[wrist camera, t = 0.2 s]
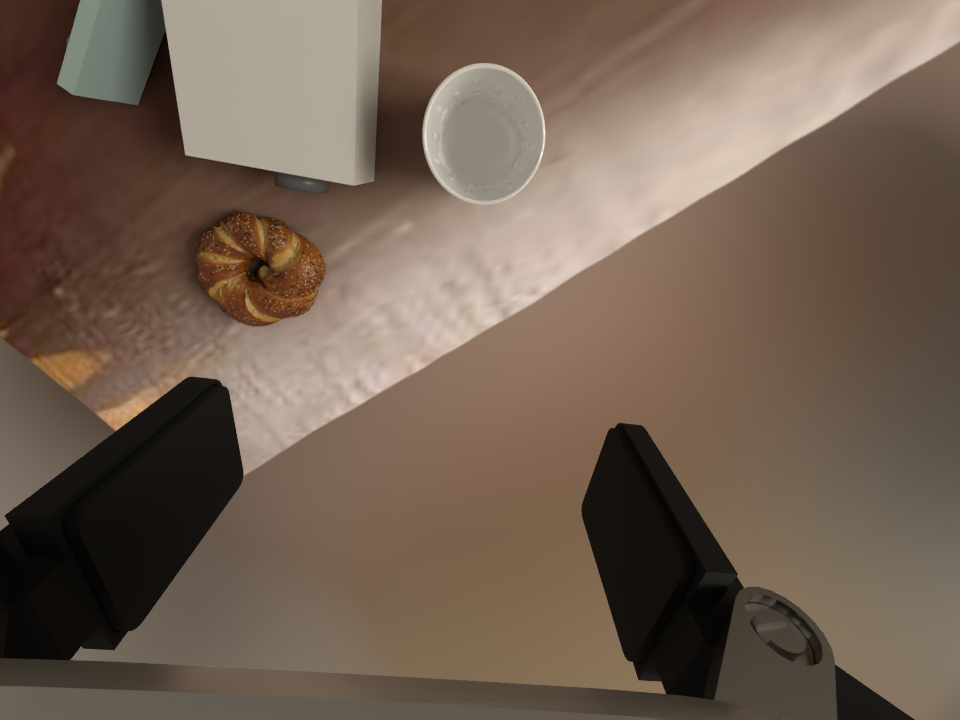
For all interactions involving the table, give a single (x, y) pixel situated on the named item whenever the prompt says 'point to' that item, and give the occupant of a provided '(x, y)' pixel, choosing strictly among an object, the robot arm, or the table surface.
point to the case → (279, 85)
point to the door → (112, 49)
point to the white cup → (483, 134)
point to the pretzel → (278, 283)
